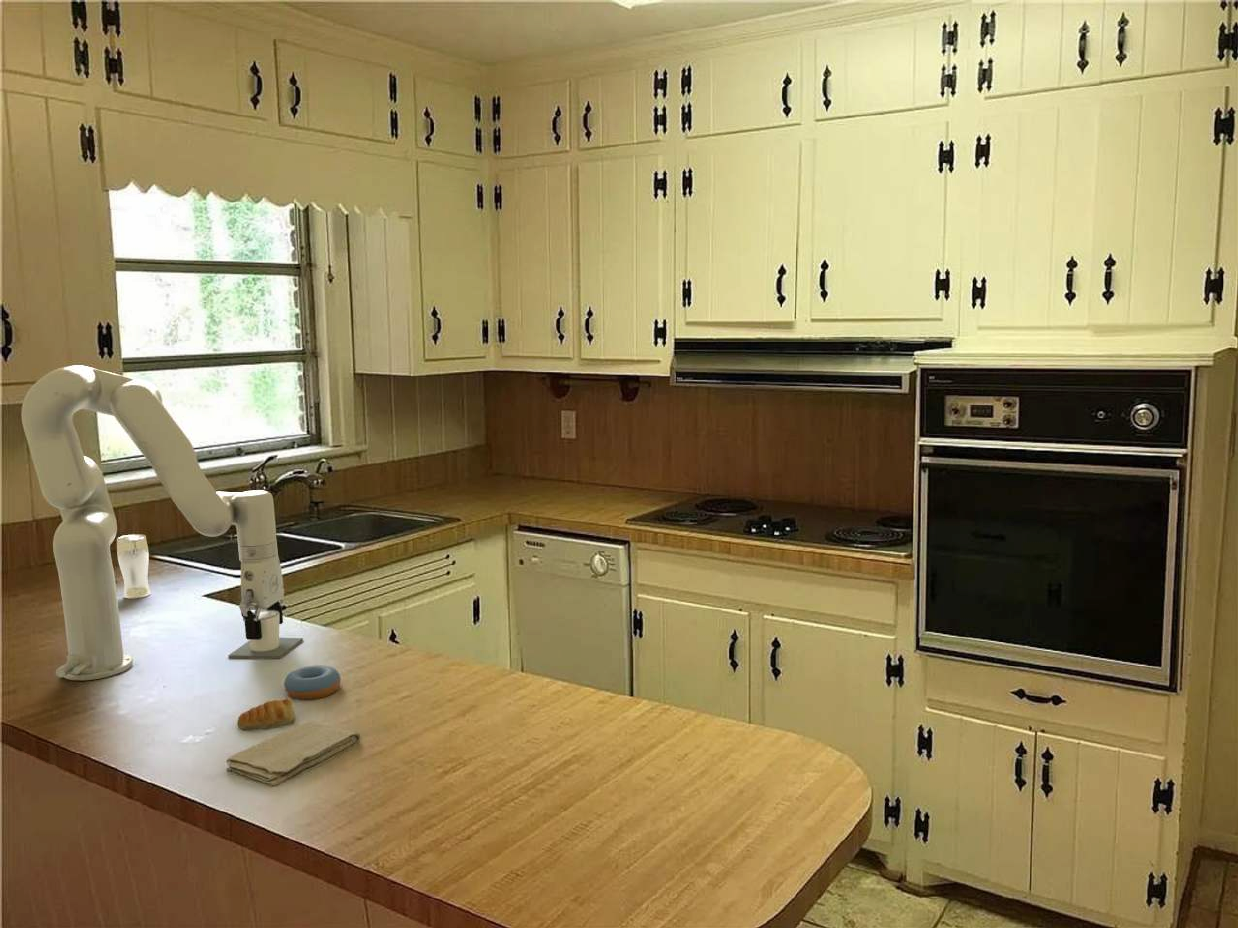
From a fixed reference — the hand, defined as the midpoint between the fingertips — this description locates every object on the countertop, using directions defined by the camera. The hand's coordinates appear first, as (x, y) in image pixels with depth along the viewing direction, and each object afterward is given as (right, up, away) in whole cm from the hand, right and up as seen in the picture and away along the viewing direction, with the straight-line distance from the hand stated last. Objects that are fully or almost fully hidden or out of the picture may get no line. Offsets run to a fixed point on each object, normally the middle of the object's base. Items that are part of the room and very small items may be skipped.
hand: (265, 631), depth 210 cm
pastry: (+14, -10, -37) cm, 41 cm away
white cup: (0, -4, 0) cm, 4 cm away
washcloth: (+22, -12, -50) cm, 56 cm away
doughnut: (+17, -8, -23) cm, 30 cm away
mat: (0, -4, +1) cm, 4 cm away
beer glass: (-47, +1, +44) cm, 65 cm away
